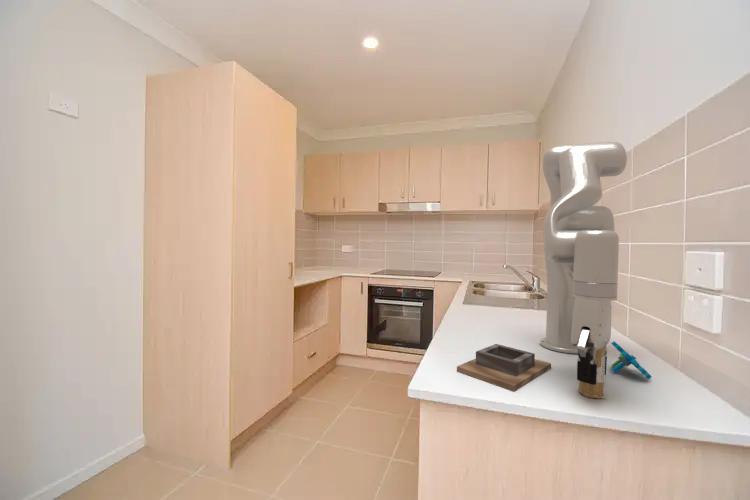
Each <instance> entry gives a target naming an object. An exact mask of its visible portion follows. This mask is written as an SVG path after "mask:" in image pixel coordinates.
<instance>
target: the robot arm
mask: <svg viewBox="0 0 750 500" xmlns="http://www.w3.org/2000/svg"><path fill="white" fill-rule="evenodd" d="M627 158H628V156H627V151H626V149H625V146H623V145H622V143H620V142H619V141H618V142H617V141H600V142H599V141H597V142H585V143H574V144H573V143H572V144H571V143H570V144H563V145H557V146H554V147H551V148H549V149H547V150H546V151H545V152H544V155H543V157H542V171H543V175H544V179H545V181H546V184H547V187H548V190H549V193H550V208H549V210H548V211H547V213H546V216H545V217H544V220H543V225H542V226H543V230H542V231H543V252H544V261H545V262H544V263H545V269H546V280H547V281H546V285H547V286H546V321H545V322H546V327H545V328H546V329H545V330H546V331H545V337H543V338H541V339H540V340H539V343H540V345H541V346H542V347H543V348H545V349H548V350H552V351H555V352H560V353H563V354H564V353H565V354H576V355H577V364H576V365H577V366H576V367H577V368H576V370H577V371H576V373H577V374H576V380H577V381H578V382H579V381H582V382H585V383H589V384H592V385H595V384H596V378H597V364H595V359H596V352H597V350H599V349H601V348H602V347H604V345H605V376H606V375H607V362H608V360H607V359H608V358H607V357H608V356H607V353H608V352H607V351H608V350H607V345H608V344H609V343H610V342H611V336H612V301H614V302H615V301H617V300H618V285H619V283H618V281H619V251H620V250H619V249H620V247H619V246H620V241H619V240H620V239H619V235H618V233H617V232H616V231H615V218H614V214H613V212H612V210H611V209H610V208H609V207H607V206H605V205H596V204H597V203H598V202H599V201H600V200H601V199H602V197H603V189H602V183H601V178H603V177H605V178H606V177H617V176H619V175H621V174H622V173H624V171H625V169H626V166H627V161H628V159H627ZM606 338H607V341H605V340H606ZM588 344H589V345H594V346H593V348H592V347H587V345H588ZM587 350H588V351H592V353H591V356H590V353H589V352H587Z"/></svg>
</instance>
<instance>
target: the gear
mask: <svg viewBox="0 0 750 500" xmlns="http://www.w3.org/2000/svg"><path fill="white" fill-rule="evenodd" d="M610 344H611V345H612V346H613V347H614V348H615V349H616V350H617V351H618V352H619V356H618V357H617V359H618V360H616V361H615V362H613V363H611V364H610V365H611V366H612V368H611V371H612V372H613V374H616V373H617V372H619V371H621V369H623V368H624V367H629V366H631V365H633V366H634V367H635V368H636V369H637V370H638V371H639V372H640V373H641V374H642V375H644V376H645V377H646V378H647V379H648V380H649V379H651V378H652V377H653V376H652V375H651V374H650V373H649V372H648V371H647V370H646V369H645V368H644V367H643V366H642V365H640V363H639V362H638V361H637V360H636V359H637V357H635V356H634V355H633V354H629V353H628V352H627V351H626V350H624V348H623V347H622V346H620V345H619V344H618V343H617V342H616V341H615V340H614V341H613V342H611V343H610Z"/></svg>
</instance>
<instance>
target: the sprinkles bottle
mask: <svg viewBox="0 0 750 500" xmlns="http://www.w3.org/2000/svg"><path fill="white" fill-rule="evenodd" d="M605 341H607V338H606V340H605ZM593 346H594V345H589V344H588V345H587V347H592V348H593ZM587 352H589V353H590V356H591V353H592V351H588V350H587ZM595 364H597V378H596V384H595V385H592V384H589V383H585V382H582V381H578V382H579V383H578V388H577V390H578V392H579V394H580V395H582V394H583V395H582V396H584V397H587V398H591V399H594V398H597V399H599V400H600V398H601V399H603V398H604V397H605V381H606V379H605V378H606V377H605V376H606V375H605V345H604V347H602V348H601V349H599V350H597V352H596V359H595ZM597 399H596V400H597Z"/></svg>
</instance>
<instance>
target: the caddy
mask: <svg viewBox="0 0 750 500" xmlns="http://www.w3.org/2000/svg"><path fill="white" fill-rule="evenodd" d="M535 355H536V353H533V352H530V351H526V350H522V349H519V348H515V347H510V346H508V345H507V346H506V345H502V344H498V343H495V344H492V345H489V346H486V347H484V348H482V349H479V350H477V351H475V358H474V359H473V358H472V360H471V359H470V360H469V361H467V362H464V363H462V364H459V365H457V366H456V372H458V373H461V374H464V375H465V376H466V375H467V376H470V377H473V378H474V379H478V380H481V381H484V382H486V383H489V384H493V385H495V386H497V387H500V388H504V389H506V390H509V391H512V392H516V391H517V390H519V389H521V388H522V387H524V386H526V385H527V384H528V383H530V382H531V381H533V380H535V379H537V378H538V377H540V376H541V375H543V374H545V373H546V372H547V371H549V370H551V368H552V363H550V362H547V361H543V360H540V359H536V357H535ZM548 369H549V370H548Z"/></svg>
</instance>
